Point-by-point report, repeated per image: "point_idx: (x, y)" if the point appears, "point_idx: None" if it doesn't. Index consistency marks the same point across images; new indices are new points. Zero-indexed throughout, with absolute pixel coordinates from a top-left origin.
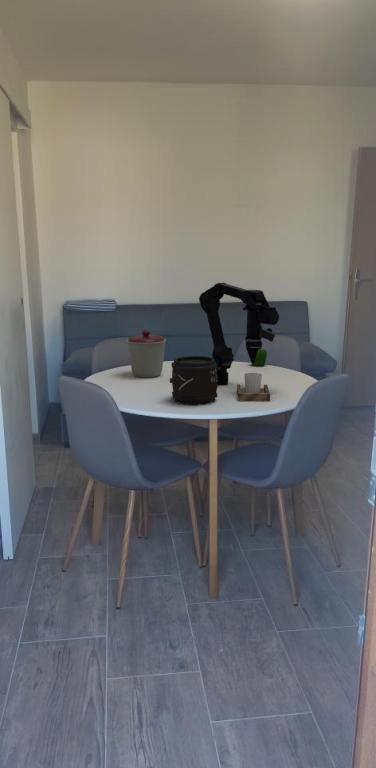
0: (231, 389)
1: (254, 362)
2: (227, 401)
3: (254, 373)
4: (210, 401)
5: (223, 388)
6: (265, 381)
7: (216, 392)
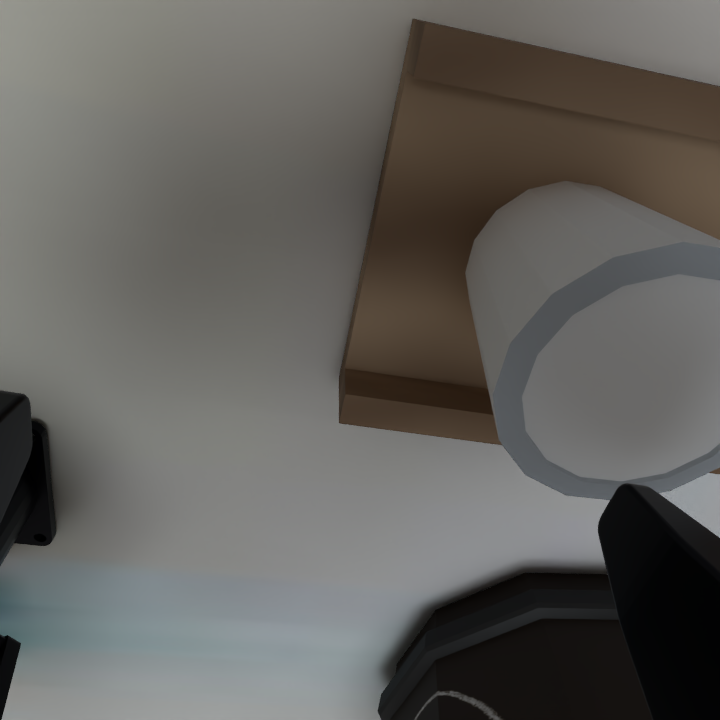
0: (249, 410)
1: (669, 501)
2: (687, 504)
3: (555, 344)
4: None
5: (199, 468)
6: None
7: (604, 610)
